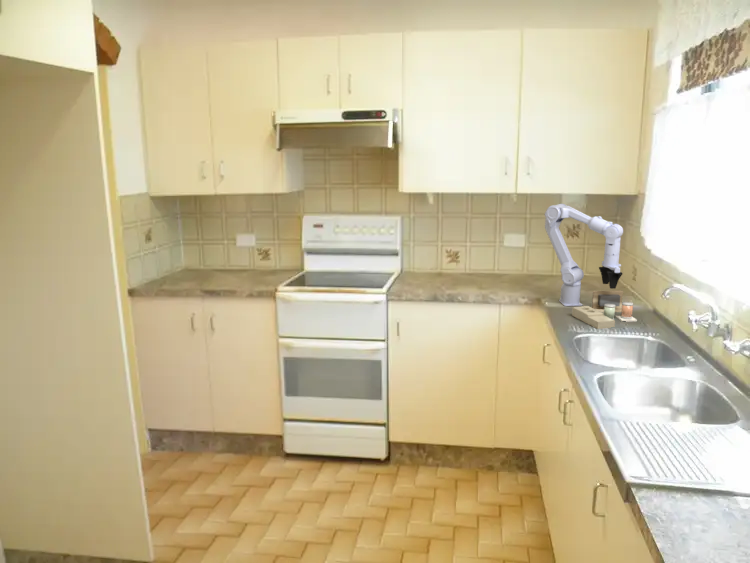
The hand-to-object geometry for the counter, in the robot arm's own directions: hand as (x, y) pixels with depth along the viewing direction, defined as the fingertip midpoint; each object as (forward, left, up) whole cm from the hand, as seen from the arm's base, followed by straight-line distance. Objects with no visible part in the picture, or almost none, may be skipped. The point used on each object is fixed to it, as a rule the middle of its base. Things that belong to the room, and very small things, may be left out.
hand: (609, 286), depth 240 cm
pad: (+13, +3, -10) cm, 17 cm away
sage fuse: (+12, -4, -10) cm, 17 cm away
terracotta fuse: (+13, +3, -10) cm, 16 cm away
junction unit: (0, 0, -10) cm, 10 cm away
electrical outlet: (+15, -11, -11) cm, 22 cm away
